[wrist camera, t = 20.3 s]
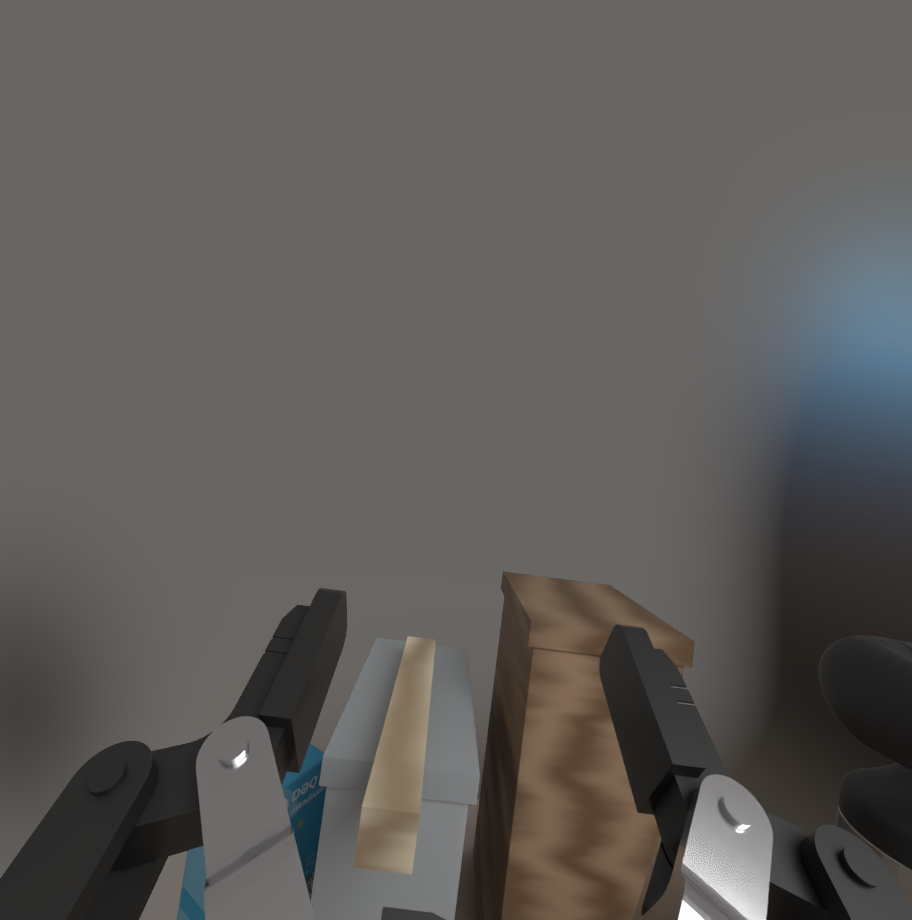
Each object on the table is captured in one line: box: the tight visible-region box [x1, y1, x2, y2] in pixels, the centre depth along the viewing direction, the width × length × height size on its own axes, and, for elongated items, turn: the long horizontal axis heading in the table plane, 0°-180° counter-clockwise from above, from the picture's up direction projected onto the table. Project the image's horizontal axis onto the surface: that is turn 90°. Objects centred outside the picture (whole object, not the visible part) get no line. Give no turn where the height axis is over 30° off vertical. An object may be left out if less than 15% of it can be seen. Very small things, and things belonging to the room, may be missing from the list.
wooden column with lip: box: [473, 572, 694, 920], centre depth 39 cm, size 13×16×32 cm
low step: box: [311, 638, 480, 920], centre depth 37 cm, size 11×20×22 cm, turn 1°
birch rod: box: [354, 637, 436, 874], centre depth 31 cm, size 3×22×3 cm, turn 1°
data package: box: [177, 744, 327, 920], centre depth 38 cm, size 12×4×12 cm, turn 150°
